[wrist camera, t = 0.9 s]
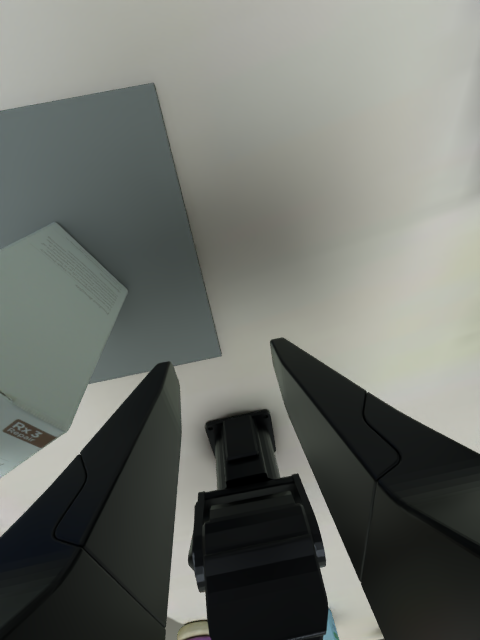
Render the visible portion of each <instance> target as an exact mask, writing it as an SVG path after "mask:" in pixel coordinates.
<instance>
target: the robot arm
mask: <svg viewBox="0 0 480 640" xmlns="http://www.w3.org/2000/svg"><path fill="white" fill-rule="evenodd" d="M270 346H271V354H272V361H273V366H274V370H275V373H276V377H277V380H278V384H279V387H280V391H281V394H282V398H283V401H284V404H285V407H286V410H287V413H288V415H289V418H290V420H291V423H292V425H293V427H294V430H295V432H296V434H297V436H298V439H299V441H300V443H301V446H302V448H303V450H304V453H305V455H306V457H307V460H308V462H309V464H310V467H311V469H312V471H313V474H314V476H315V478H316V481H317V483H318V485H319V488H320V490H321V492H322V495H323V497H324V499H325V502H326V504H327V506H328V508H329V511H330V513H331V515H332V518H333V520H334V522H335V525H336V527H337V529H338V532H339V534H340V536H341V539H342V541H343V543H344V546H345V548H346V550H347V553H348V555H349V557H350V560H351V562H352V564H353V567H354V569H355V571H356V574H357V576H358V578H359V580H360V582H361V585H362V588H363V590H364V592H365V595H366V597H367V599H368V602H369V604H370V606H371V609H372V611H373V613H374V616H375V618H376V620H377V623H378V625H379V627H380V630H381V632H382V634H383V636H384V639H385V640H480V454H479V453H477V452H475V451H473V450H471V449H469V448H467V447H465V446H463V445H462V444H460V443H458V442H456V441H454V440H452V439H450V438H448V437H446V436H444V435H442V434H441V433H439V432H437V431H435V430H433V429H431V428H429V427H427V426H425V425H423V424H422V423H420V422H418V421H416V420H414V419H412V418H411V417H409V416H407V415H405V414H403V413H402V412H400V411H398V410H396V409H395V408H393V407H392V406H390V405H388V404H387V403H385V402H383V401H382V400H380V399H379V398H377V397H375V396H374V395H372V394H371V393H369V392H368V393H367V391H366V390H364V389H363V388H361V387H360V386H358V385H356V384H355V383H353V382H352V381H350V380H349V379H347V378H346V377H344V376H342V375H341V374H339V373H338V372H336V371H335V370H333V369H332V368H330V367H328V366H327V365H325V364H324V363H322V362H321V361H319V360H318V359H316V358H314V357H313V356H311V355H310V354H308V353H307V352H305V351H304V350H302V349H300V348H299V347H297V346H296V345H294V344H293V343H291V342H290V341H288V340H286V339H285V338H277V339H272V340H271V341H270ZM264 415H265V416H264ZM205 429H206V433H207V436H208V438H209V441H210V444H211V447H212V450H213V453H214V456H215V459H216V474H217V490H215V491H210V492H205V491H204V492H199V493H198V502H196V505H195V516H194V530H193V536H192V540H191V545H190V550H189V555H188V564H189V566H190V567H191V568H192V569H193V570H194V572H195V577H196V580H197V586H198V589H199V592H200V593H201V592H205V593H206V607H207V622H208V629H209V636H210V638H211V640H323V636H324V635H326V631H327V621H328V601H327V596H326V591H325V587H324V583H323V579H322V575H321V571H320V568H321V567H325V566H326V558H325V552H324V547H323V542H322V538H321V534H320V530H319V527H318V524H317V520H316V518H315V515H314V512H313V510H312V507H311V505H310V502H309V500H308V497H307V494H306V492H305V489H304V487H303V484H302V482H301V479H300V477H299V474H298V473H297V474H292V476H288V477H283V478H280V474H279V470H278V466H277V462H276V458H275V454H274V452H275V451H276V447H275V441H274V435H273V429H272V422H271V416H270V412H269V411H267V410H263V411H259V412H254V413H249V414H245V415H240V416H236V417H231V418H226V419H222V420H217V421H212V422H208V423H207V424H206V425H205ZM181 433H182V430H181V402H180V385H179V380H178V378H177V375H176V372H175V370H174V367H173V364H172V363H171V362H170V361H167V362H162V363H158V364H156V365H155V367H154V368H153V369H152V370H151V371H150V372H149V374H148V375H147V376H146V377H145V378H144V379H143V380H142V382H141V383H140V384H139V385H138V386H137V387H136V389H135V390H134V391H133V392H132V393H131V394H130V395H129V397H128V398H127V399H126V400H125V401H124V402H123V403H122V405H121V406H120V407H119V408H118V409H117V410H116V412H115V413H114V414H113V415H112V416H111V417H110V418H109V420H108V421H107V422H106V423H105V424H104V425H103V427H102V428H101V429H100V430H99V431H98V432H97V433H96V435H95V436H94V437H93V438H92V439H91V440H90V442H89V443H88V444H87V445H86V446H85V447H84V448H83V450H82V451H81V452H80V454H81V455H77V456H76V458H75V459H74V460H73V461H72V462H71V463H70V464H69V466H68V467H67V468H66V469H65V470H64V471H63V472H62V473H61V475H60V476H59V477H58V478H57V479H56V480H55V481H54V482H53V483H52V485H51V486H50V487H49V488H48V489H47V490H46V491H45V492H44V493H43V494H42V495H41V496H40V497H39V498H38V499H37V500H36V501H35V502H34V504H33V505H32V506H31V507H30V508H29V509H28V510H27V511H26V512H25V513H24V514H23V515H22V516H21V517H20V518H19V519H18V520H17V521H16V522H15V523H14V524H13V525H12V526H11V527H10V528H9V529H8V530H7V531H6V532H5V533H4V534H3V535H2V536H1V537H0V640H165V633H166V630H165V627H166V619H167V607H168V595H169V583H170V570H171V558H172V546H173V534H174V521H175V509H176V497H177V485H178V473H179V460H180V448H181Z"/></svg>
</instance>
